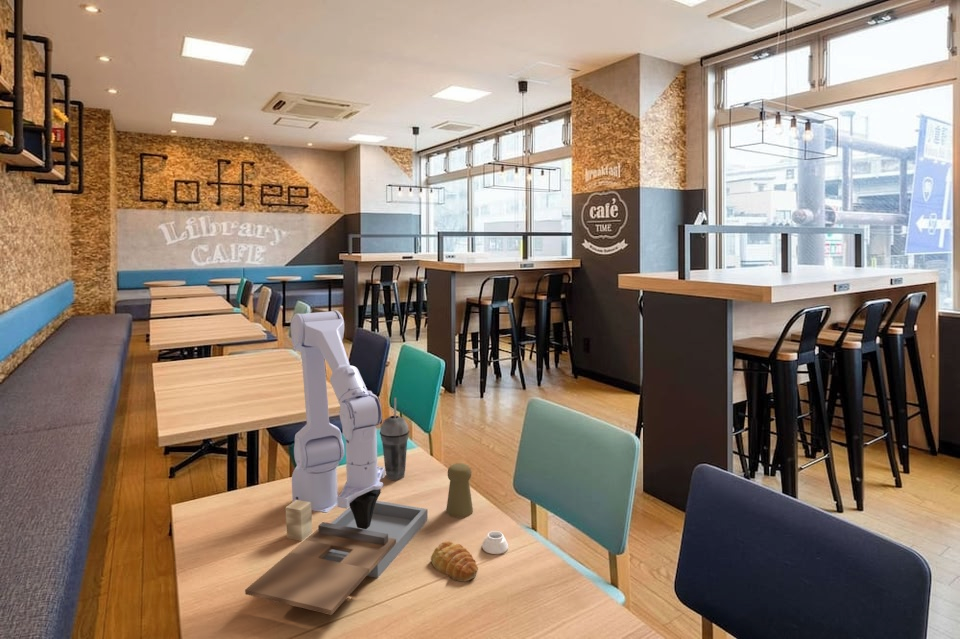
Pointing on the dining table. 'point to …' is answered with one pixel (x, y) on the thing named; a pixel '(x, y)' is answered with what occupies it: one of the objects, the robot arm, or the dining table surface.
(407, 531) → the shallow grey box
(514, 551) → the dining table surface
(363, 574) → the lid
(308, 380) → the robot arm
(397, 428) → the beverage cup
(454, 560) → the pastry
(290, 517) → the block
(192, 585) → the dining table surface
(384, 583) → the dining table surface
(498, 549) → the white upturned bowl
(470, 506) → the olive pawn figure
